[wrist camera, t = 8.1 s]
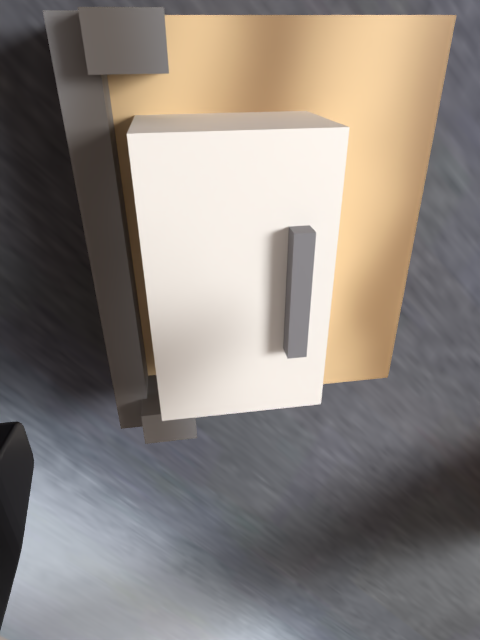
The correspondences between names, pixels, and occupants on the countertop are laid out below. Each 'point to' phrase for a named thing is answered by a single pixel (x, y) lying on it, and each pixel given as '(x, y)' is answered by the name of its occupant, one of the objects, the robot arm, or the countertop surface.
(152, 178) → the door
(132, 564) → the countertop surface
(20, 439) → the robot arm
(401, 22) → the wooden board
